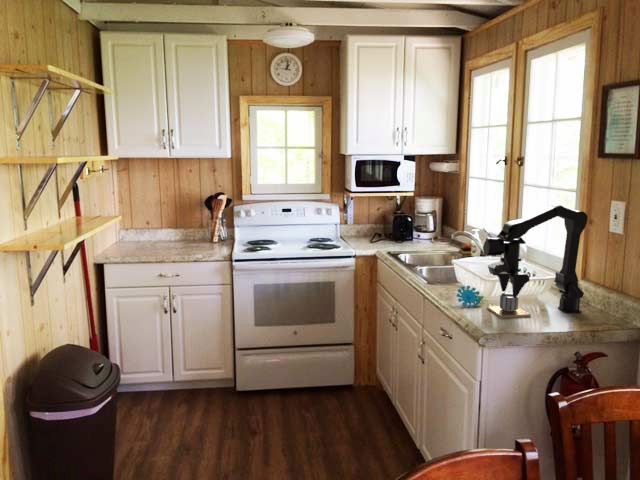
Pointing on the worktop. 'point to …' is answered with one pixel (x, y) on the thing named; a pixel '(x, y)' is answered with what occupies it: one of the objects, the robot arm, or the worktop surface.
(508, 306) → the hub
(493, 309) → the shaft stand
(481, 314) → the worktop surface
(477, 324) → the worktop surface
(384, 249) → the worktop surface
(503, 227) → the robot arm
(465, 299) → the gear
